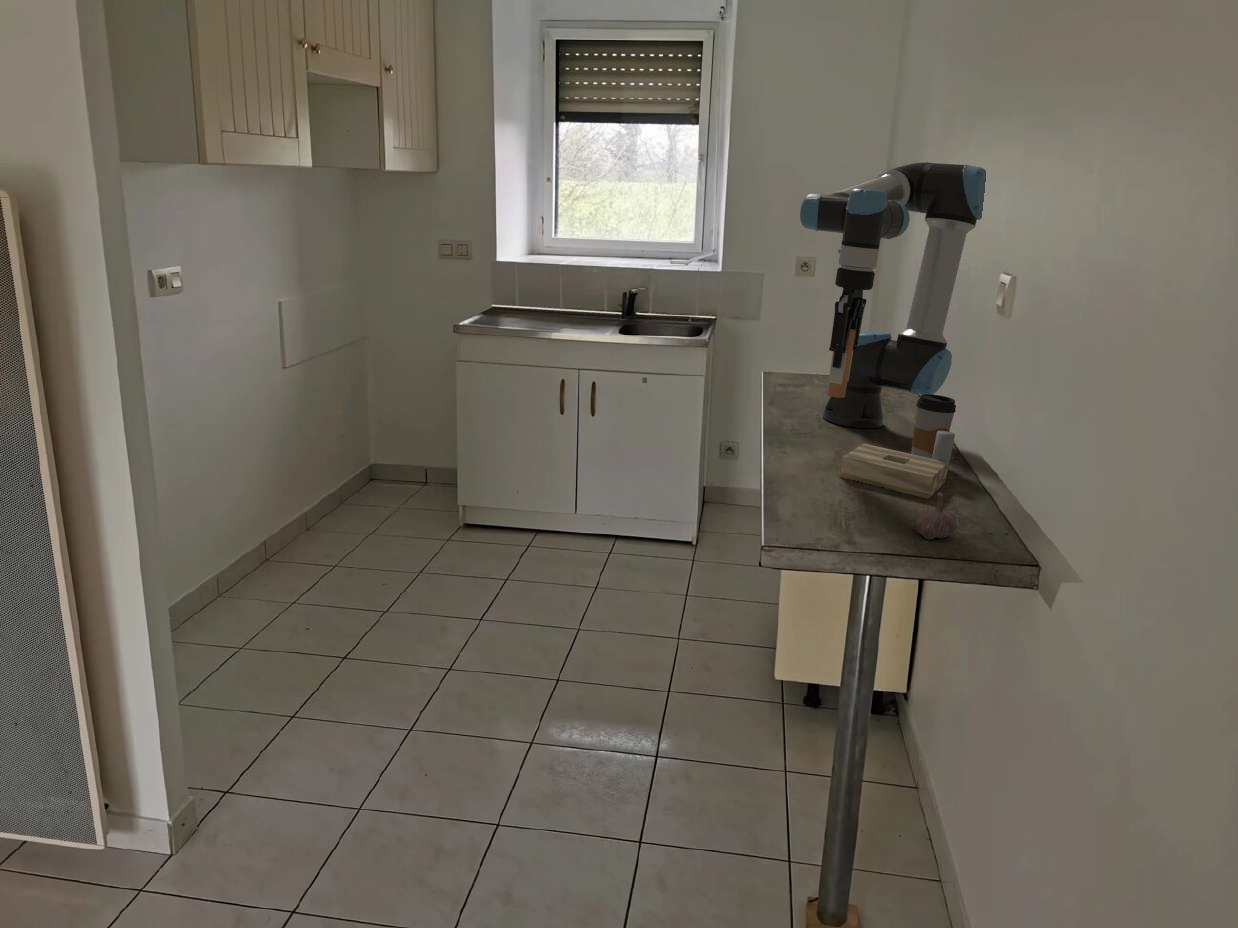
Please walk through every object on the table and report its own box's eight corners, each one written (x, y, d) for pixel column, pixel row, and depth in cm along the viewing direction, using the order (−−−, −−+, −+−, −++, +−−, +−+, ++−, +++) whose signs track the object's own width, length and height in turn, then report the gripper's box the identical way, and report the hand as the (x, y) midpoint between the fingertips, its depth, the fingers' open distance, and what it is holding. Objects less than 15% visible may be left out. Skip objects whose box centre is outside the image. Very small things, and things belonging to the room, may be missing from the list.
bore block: (860, 463, 208) (863, 443, 207) (944, 483, 200) (948, 462, 198) (839, 477, 196) (843, 456, 195) (927, 498, 188) (932, 477, 187)
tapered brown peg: (830, 392, 204) (841, 327, 200) (847, 395, 202) (857, 330, 198) (825, 395, 201) (835, 328, 197) (841, 398, 199) (852, 331, 195)
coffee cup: (928, 457, 218) (940, 393, 214) (952, 469, 211) (966, 402, 206) (897, 458, 215) (910, 393, 211) (921, 470, 208) (934, 402, 203)
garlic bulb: (923, 543, 163) (932, 499, 161) (903, 527, 170) (911, 485, 168) (963, 544, 165) (972, 500, 163) (942, 528, 172) (951, 486, 169)
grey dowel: (930, 475, 204) (939, 429, 202) (947, 479, 203) (956, 433, 200) (926, 478, 201) (935, 432, 199) (943, 482, 200) (953, 436, 197)
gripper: (851, 264, 202) (834, 373, 209) (825, 267, 189) (807, 383, 196) (886, 269, 199) (867, 379, 206) (862, 272, 185) (842, 390, 192)
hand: (838, 381), depth 201 cm, fingers closed on tapered brown peg, 3 cm apart
